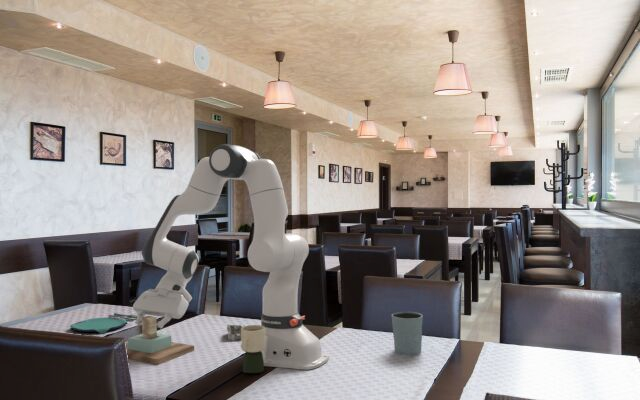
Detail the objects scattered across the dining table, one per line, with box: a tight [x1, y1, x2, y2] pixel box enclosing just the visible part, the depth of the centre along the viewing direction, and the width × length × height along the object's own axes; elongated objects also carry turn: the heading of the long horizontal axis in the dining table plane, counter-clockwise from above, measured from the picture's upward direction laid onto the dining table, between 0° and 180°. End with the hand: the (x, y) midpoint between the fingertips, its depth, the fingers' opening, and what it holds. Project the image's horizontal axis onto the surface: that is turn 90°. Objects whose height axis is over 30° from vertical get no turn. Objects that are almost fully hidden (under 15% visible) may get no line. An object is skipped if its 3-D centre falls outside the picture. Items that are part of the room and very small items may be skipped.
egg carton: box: [225, 324, 246, 341], centre depth 190 cm, size 11×8×4 cm
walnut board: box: [124, 341, 195, 365], centre depth 172 cm, size 24×16×2 cm, turn 63°
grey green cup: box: [391, 311, 424, 356], centre depth 171 cm, size 10×10×12 cm
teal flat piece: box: [69, 312, 137, 334], centre depth 209 cm, size 20×30×2 cm, turn 164°
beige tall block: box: [141, 315, 158, 339], centre depth 171 cm, size 4×2×10 cm, turn 63°
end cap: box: [126, 332, 172, 353], centre depth 172 cm, size 10×9×4 cm
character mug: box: [240, 324, 265, 375], centre depth 151 cm, size 11×7×13 cm, turn 157°
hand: (148, 325), depth 171 cm, fingers open, 8 cm apart
